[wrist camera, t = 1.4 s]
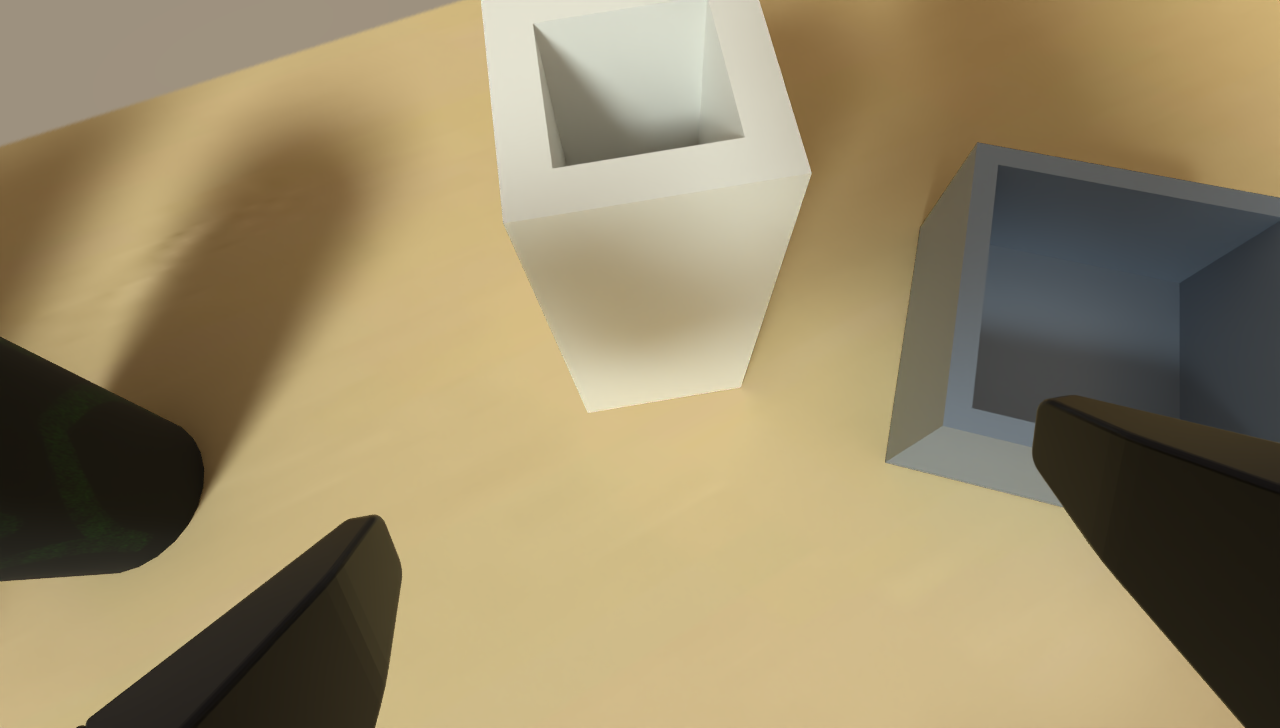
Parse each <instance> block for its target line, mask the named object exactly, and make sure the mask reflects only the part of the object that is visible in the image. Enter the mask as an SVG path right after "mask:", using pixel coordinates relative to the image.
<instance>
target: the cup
mask: <svg viewBox="0 0 1280 728" xmlns="http://www.w3.org/2000/svg"><path fill="white" fill-rule="evenodd" d="M203 478H204V467H203V462H202V457H201V452H200V450H199V449H198V447H197V445H196V443H195V441H194V439H193V438H192V437H191V436H190V435H189V434H188V433H187V432H186V431H185V430H184V429H183V428H182V427H180V426H178V425H176V424H174V423H172V422H170V421H168V420H166V419H164V418H162V417H160V416H158V415H156V414H154V413H152V412H150V411H148V410H146V409H144V408H142V407H140V406H138V405H136V404H134V403H132V402H130V401H128V400H126V399H124V398H122V397H120V396H118V395H116V394H114V393H112V392H110V391H108V390H106V389H104V388H102V387H100V386H98V385H96V384H94V383H92V382H90V381H88V380H86V379H84V378H82V377H80V376H78V375H76V374H74V373H72V372H70V371H68V370H66V369H64V368H62V367H60V366H58V365H56V364H54V363H52V362H50V361H48V360H46V359H44V358H42V357H40V356H38V355H36V354H34V353H32V352H30V351H28V350H26V349H24V348H22V347H20V346H18V345H16V344H14V343H12V342H10V341H8V340H6V339H4V338H2V337H0V581H11V580H26V579H40V578H55V577H69V576H84V575H98V574H112V573H121V572H124V571H127V570H130V569H133V568H137V567H139V566H141V565H143V564H145V563H146V562H148V561H150V560H152V559H153V558H155V557H157V556H158V555H160V554H161V553H162V552H163V551H164V550H165V549H166V548H168V547H169V546H170V545H171V544H172V543H173V542H175V540H176V539H177V538H178V537H179V535H180V534H181V533H182V532H183V530H184V529H185V528H186V526H187V525H188V524H189V522H190V520H191V518H192V516H193V514H194V512H195V510H196V508H197V506H198V503H199V500H200V496H201V493H202V489H203Z"/></svg>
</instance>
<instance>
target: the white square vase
mask: <svg viewBox="0 0 1280 728" xmlns="http://www.w3.org/2000/svg"><path fill="white" fill-rule="evenodd" d="M481 6H482V16H483V26H484V36H485V46H486V56H487V66H488V76H489V86H490V96H491V106H492V116H493V126H494V136H495V146H496V156H497V166H498V176H499V186H500V196H501V206H502V216H503V224H504V226H505V228H506V231H507V233H508V235H509V237H510V240H511V242H512V244H513V246H514V249H515V251H516V253H517V255H518V258H519V260H520V262H521V264H522V267H523V269H524V271H525V273H526V275H527V278H528V280H529V282H530V284H531V287H532V289H533V291H534V293H535V296H536V298H537V300H538V302H539V305H540V307H541V309H542V311H543V314H544V316H545V318H546V320H547V322H548V325H549V327H550V329H551V331H552V334H553V336H554V338H555V340H556V343H557V345H558V347H559V349H560V352H561V354H562V356H563V358H564V360H565V363H566V365H567V367H568V369H569V372H570V374H571V376H572V378H573V381H574V383H575V385H576V387H577V390H578V392H579V394H580V396H581V399H582V401H583V403H584V405H585V407H586V410H587V412H588V413H591V412H597V411H603V410H609V409H615V408H621V407H627V406H633V405H639V404H645V403H651V402H657V401H663V400H669V399H675V398H681V397H687V396H693V395H699V394H705V393H711V392H717V391H723V390H729V389H735V388H740V387H741V385H742V382H743V379H744V376H745V373H746V370H747V367H748V364H749V361H750V358H751V355H752V352H753V349H754V346H755V343H756V340H757V337H758V334H759V331H760V328H761V325H762V322H763V319H764V316H765V313H766V310H767V307H768V304H769V301H770V298H771V295H772V292H773V289H774V286H775V283H776V280H777V277H778V274H779V271H780V268H781V265H782V262H783V258H784V255H785V252H786V249H787V246H788V243H789V240H790V237H791V234H792V231H793V228H794V225H795V222H796V219H797V216H798V213H799V210H800V207H801V204H802V201H803V198H804V195H805V192H806V189H807V186H808V183H809V180H810V177H811V174H812V172H811V169H810V166H809V162H808V159H807V156H806V153H805V149H804V146H803V143H802V139H801V136H800V133H799V130H798V126H797V123H796V120H795V116H794V113H793V110H792V107H791V103H790V100H789V97H788V93H787V90H786V87H785V84H784V80H783V77H782V74H781V70H780V67H779V64H778V61H777V57H776V54H775V51H774V47H773V44H772V41H771V38H770V34H769V31H768V28H767V24H766V21H765V18H764V15H763V11H762V8H761V5H760V1H759V0H481Z"/></svg>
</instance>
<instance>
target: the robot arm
mask: <svg viewBox="0 0 1280 728" xmlns="http://www.w3.org/2000/svg"><path fill="white" fill-rule="evenodd" d="M1032 458H1033V462H1034V464H1035V467H1036V469H1037V470H1038V472H1039V473H1040V475H1041V476H1042V478H1043V479H1044V480H1045V482H1046V483H1047V485H1048V486H1049V487H1050V489H1051V490H1052V492H1053V493H1054V495H1055V496H1056V497H1057V499H1058V500H1059V502H1060V503H1061V505H1062V506H1063V507H1064V509H1065V510H1066V512H1067V513H1068V515H1069V516H1070V517H1071V519H1072V520H1073V522H1074V523H1075V524H1076V526H1077V527H1078V529H1079V530H1080V532H1081V533H1082V534H1083V536H1084V537H1085V539H1086V540H1087V542H1088V543H1089V544H1090V546H1091V547H1092V548H1093V550H1094V551H1095V552H1096V554H1097V555H1098V556H1099V558H1100V559H1101V560H1102V562H1103V563H1104V564H1105V565H1106V567H1107V568H1108V569H1109V570H1110V571H1111V573H1112V574H1113V575H1114V576H1115V578H1116V579H1117V580H1118V581H1119V582H1120V583H1121V585H1122V586H1123V587H1124V588H1125V589H1126V590H1127V591H1128V593H1129V594H1130V595H1131V596H1132V597H1133V598H1134V600H1135V601H1136V602H1137V603H1138V604H1139V605H1140V607H1141V608H1142V609H1143V610H1144V611H1145V612H1146V614H1147V615H1148V616H1149V617H1150V618H1151V619H1152V620H1153V622H1154V623H1155V624H1156V625H1157V626H1158V627H1159V629H1160V630H1161V631H1162V632H1163V633H1164V634H1165V636H1166V637H1167V638H1168V639H1169V640H1170V641H1171V643H1172V644H1173V645H1174V646H1175V647H1176V648H1177V649H1178V651H1179V652H1180V653H1181V654H1182V655H1183V656H1184V658H1185V659H1186V660H1187V661H1188V662H1189V663H1190V665H1191V666H1192V667H1193V668H1194V669H1195V670H1196V672H1197V673H1198V674H1199V675H1200V676H1201V677H1202V679H1203V680H1204V681H1205V682H1206V683H1207V684H1208V685H1209V687H1210V688H1211V689H1212V690H1213V691H1214V692H1215V694H1216V695H1217V696H1218V697H1219V698H1220V699H1221V701H1222V702H1223V703H1224V704H1225V705H1226V706H1227V708H1228V709H1229V710H1230V711H1231V712H1232V713H1233V714H1234V716H1235V717H1236V718H1237V719H1238V720H1239V721H1240V723H1241V724H1242V725H1243V726H1244V727H1245V728H1280V443H1278V442H1273V441H1269V440H1265V439H1261V438H1256V437H1252V436H1248V435H1244V434H1240V433H1235V432H1231V431H1227V430H1223V429H1218V428H1214V427H1210V426H1206V425H1201V424H1197V423H1193V422H1189V421H1185V420H1180V419H1176V418H1172V417H1168V416H1163V415H1159V414H1155V413H1151V412H1146V411H1142V410H1138V409H1134V408H1130V407H1125V406H1121V405H1117V404H1113V403H1108V402H1104V401H1100V400H1096V399H1091V398H1087V397H1083V396H1079V395H1066V396H1060V397H1055V398H1049V399H1045V400H1043V401H1042V402H1041V403H1040V404H1039V406H1038V408H1037V413H1036V421H1035V429H1034V437H1033V444H1032ZM401 581H402V568H401V563H400V559H399V557H398V554H397V552H396V549H395V547H394V544H393V542H392V539H391V536H390V534H389V531H388V529H387V526H386V524H385V522H384V520H383V519H382V518H381V517H380V516H378V515H368V516H363V517H357V518H351V519H348V520H346V521H344V522H343V523H342V524H341V525H339V526H338V527H337V528H335V529H334V530H333V531H331V532H330V533H329V534H328V535H326V536H325V537H324V538H322V539H321V540H320V541H318V542H317V543H316V544H315V545H313V546H312V547H311V548H309V549H308V550H307V551H305V552H304V553H303V554H302V555H300V556H299V557H298V558H296V559H295V560H294V561H293V562H291V563H290V564H289V565H287V566H286V567H285V568H283V569H282V570H281V571H280V572H278V573H277V574H276V575H274V576H273V577H272V578H270V579H269V580H268V581H267V582H265V583H264V584H263V585H261V586H260V587H259V588H257V589H256V590H255V591H254V592H252V593H251V594H250V595H248V596H247V597H246V598H245V599H243V600H242V601H241V602H239V603H238V604H237V605H235V606H234V607H233V608H232V609H230V610H229V611H228V612H226V613H225V614H224V615H222V616H221V617H220V618H219V619H217V620H216V621H215V622H213V623H212V624H211V625H209V626H208V627H207V628H206V629H204V630H203V631H202V632H200V633H199V634H198V635H196V636H195V637H194V638H193V639H191V640H190V641H189V642H187V643H186V644H185V645H184V646H182V647H181V648H180V649H178V650H177V651H176V652H174V653H173V654H172V655H171V656H169V657H168V658H167V659H165V660H164V661H163V662H161V663H160V664H159V665H158V666H156V667H155V668H154V669H152V670H151V671H150V672H148V673H147V674H146V675H145V676H143V677H142V678H141V679H139V680H138V681H137V682H136V683H134V684H133V685H132V686H130V687H129V688H128V689H126V690H125V691H124V692H123V693H121V694H120V695H119V696H117V697H116V698H115V699H113V700H112V701H111V702H110V703H108V704H107V705H106V706H104V707H103V708H102V709H100V710H99V711H98V712H97V713H95V714H94V715H93V716H91V717H90V718H89V719H88V720H87V722H86V726H84V725H81V726H78V727H77V728H375V726H376V722H377V718H378V714H379V711H380V707H381V703H382V698H383V694H384V690H385V686H386V680H387V675H388V669H389V662H390V656H391V649H392V642H393V635H394V629H395V622H396V615H397V608H398V602H399V595H400V588H401Z"/></svg>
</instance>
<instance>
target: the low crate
mask: <svg viewBox="0 0 1280 728" xmlns="http://www.w3.org/2000/svg"><path fill="white" fill-rule="evenodd" d="M1066 395H1079V396H1083V397H1087V398H1091V399H1096V400H1100V401H1104V402H1108V403H1113V404H1117V405H1121V406H1125V407H1130V408H1134V409H1138V410H1142V411H1146V412H1151V413H1155V414H1159V415H1163V416H1168V417H1172V418H1176V419H1180V420H1185V421H1189V422H1193V423H1197V424H1201V425H1206V426H1210V427H1214V428H1218V429H1223V430H1227V431H1231V432H1235V433H1240V434H1244V435H1248V436H1252V437H1256V438H1261V439H1265V440H1269V441H1273V442H1278V443H1280V198H1278V197H1273V196H1267V195H1262V194H1256V193H1251V192H1245V191H1240V190H1234V189H1229V188H1224V187H1218V186H1213V185H1207V184H1202V183H1196V182H1191V181H1185V180H1180V179H1174V178H1169V177H1164V176H1158V175H1153V174H1147V173H1142V172H1136V171H1131V170H1125V169H1120V168H1114V167H1109V166H1104V165H1098V164H1093V163H1087V162H1082V161H1076V160H1071V159H1065V158H1060V157H1054V156H1049V155H1043V154H1038V153H1033V152H1027V151H1022V150H1016V149H1011V148H1005V147H1000V146H994V145H989V144H983V143H978V142H977V144H976V145H975V147H974V148H973V150H972V151H971V153H970V154H969V156H968V157H967V159H966V160H965V162H964V163H963V165H962V166H961V168H960V169H959V171H958V172H957V173H956V175H955V176H954V178H953V179H952V181H951V182H950V184H949V185H948V187H947V188H946V190H945V191H944V193H943V194H942V196H941V197H940V199H939V200H938V202H937V203H936V205H935V206H934V208H933V209H932V211H931V212H930V214H929V215H928V217H927V218H926V220H925V221H924V223H923V224H922V226H921V227H920V232H919V239H918V246H917V253H916V259H915V266H914V273H913V279H912V286H911V293H910V299H909V306H908V313H907V319H906V326H905V333H904V339H903V346H902V353H901V359H900V366H899V373H898V380H897V386H896V393H895V400H894V406H893V413H892V420H891V426H890V433H889V440H888V446H887V453H886V460H885V463H889V464H893V465H897V466H901V467H905V468H909V469H913V470H917V471H921V472H925V473H929V474H933V475H937V476H941V477H945V478H949V479H953V480H957V481H961V482H965V483H969V484H973V485H977V486H981V487H985V488H989V489H993V490H997V491H1001V492H1005V493H1009V494H1013V495H1017V496H1021V497H1025V498H1029V499H1033V500H1037V501H1041V502H1045V503H1049V504H1053V505H1057V506H1061V507H1063V506H1062V505H1061V503H1060V502H1059V500H1058V499H1057V497H1056V496H1055V495H1054V493H1053V492H1052V490H1051V489H1050V487H1049V486H1048V485H1047V483H1046V482H1045V480H1044V479H1043V478H1042V476H1041V475H1040V473H1039V472H1038V470H1037V469H1036V467H1035V464H1034V462H1033V458H1032V444H1033V437H1034V429H1035V421H1036V413H1037V408H1038V406H1039V404H1040V403H1041V402H1042V401H1043V400H1045V399H1049V398H1055V397H1060V396H1066Z"/></svg>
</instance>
